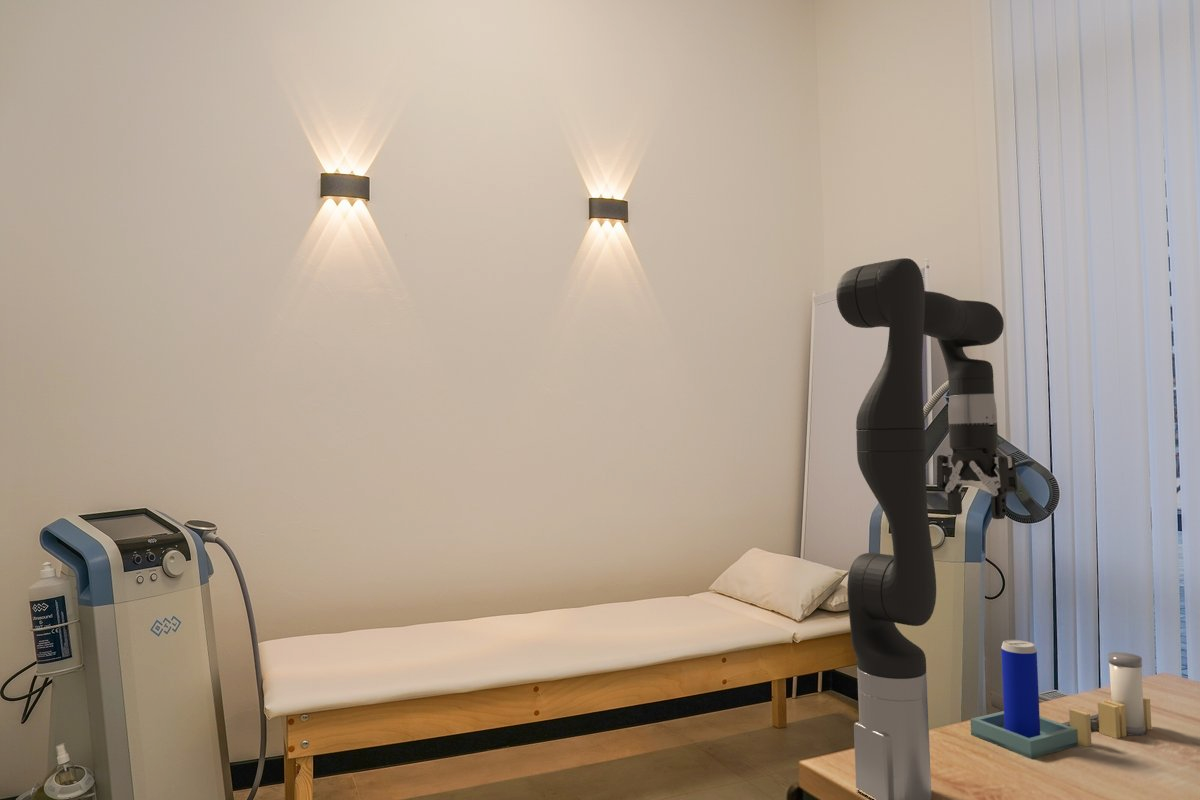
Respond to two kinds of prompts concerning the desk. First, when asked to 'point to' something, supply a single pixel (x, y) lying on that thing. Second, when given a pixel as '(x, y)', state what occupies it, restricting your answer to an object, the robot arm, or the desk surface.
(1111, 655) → the fuse
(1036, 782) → the desk surface
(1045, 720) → the tray
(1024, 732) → the beverage can
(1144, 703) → the fuse block
